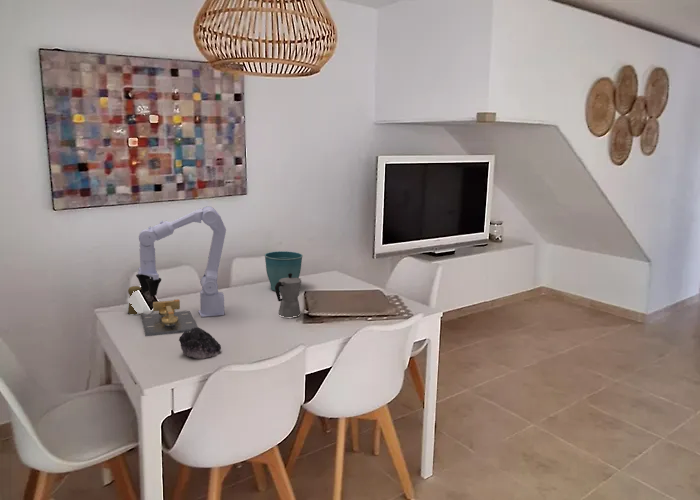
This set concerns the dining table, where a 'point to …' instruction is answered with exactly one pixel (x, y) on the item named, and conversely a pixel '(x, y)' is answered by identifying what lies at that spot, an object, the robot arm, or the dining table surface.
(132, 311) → the cork
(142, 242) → the robot arm
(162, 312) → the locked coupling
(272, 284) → the flower pot
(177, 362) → the dining table surface
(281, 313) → the coffeepot
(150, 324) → the plate
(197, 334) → the crystal cluster
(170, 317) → the brass lever handle
